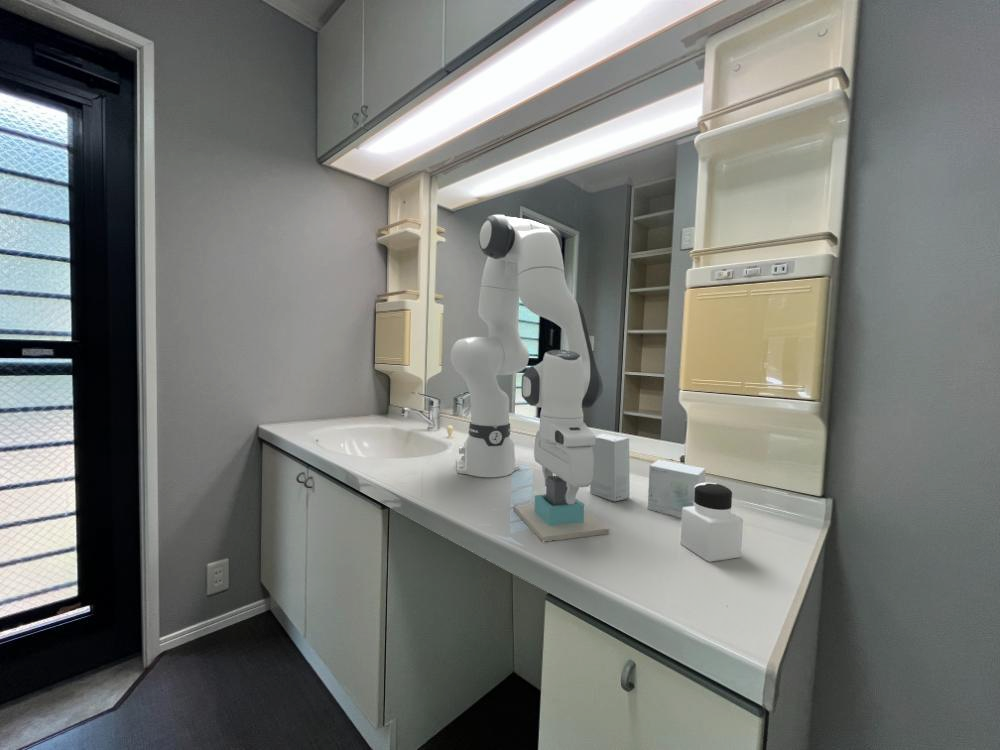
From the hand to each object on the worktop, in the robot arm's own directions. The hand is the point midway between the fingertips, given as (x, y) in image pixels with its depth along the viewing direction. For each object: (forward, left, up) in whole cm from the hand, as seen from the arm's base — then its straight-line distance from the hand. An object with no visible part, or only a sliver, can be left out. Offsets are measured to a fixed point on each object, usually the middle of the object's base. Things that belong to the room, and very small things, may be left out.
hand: (559, 494), depth 86 cm
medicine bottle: (+19, +21, -6) cm, 29 cm away
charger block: (0, 0, -5) cm, 5 cm away
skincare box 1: (-11, +19, -6) cm, 23 cm away
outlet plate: (0, 0, -6) cm, 6 cm away
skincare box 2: (+2, +28, -6) cm, 29 cm away
